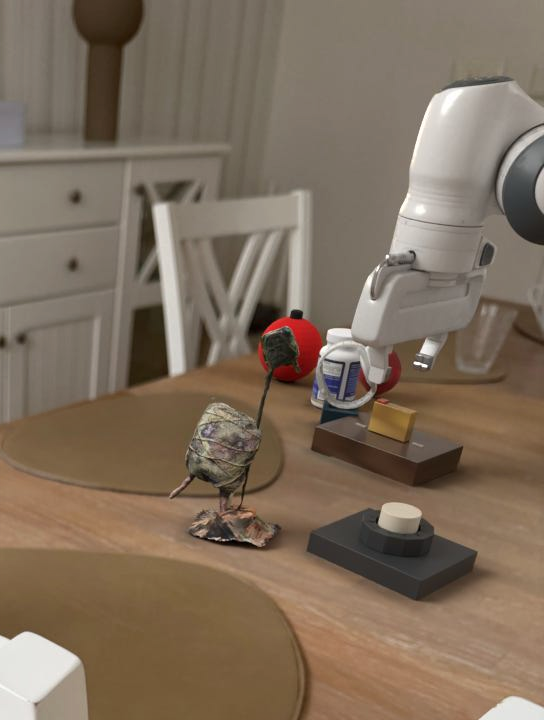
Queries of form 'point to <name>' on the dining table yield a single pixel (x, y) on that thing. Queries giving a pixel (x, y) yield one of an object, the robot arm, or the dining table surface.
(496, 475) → the dining table surface
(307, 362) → the ornament
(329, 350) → the watch
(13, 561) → the dining table surface
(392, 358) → the onion
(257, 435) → the stone sculpture
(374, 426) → the block
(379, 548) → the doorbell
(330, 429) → the plate
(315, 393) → the pill bottle
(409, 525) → the bell button
